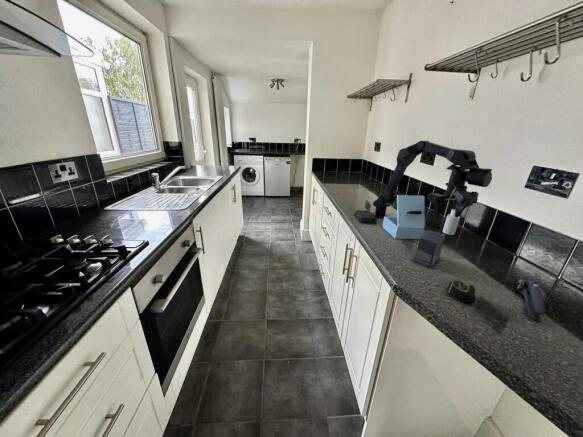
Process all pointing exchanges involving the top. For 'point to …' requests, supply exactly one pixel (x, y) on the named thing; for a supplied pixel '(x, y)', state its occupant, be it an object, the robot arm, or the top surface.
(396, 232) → the light blue box
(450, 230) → the bottle
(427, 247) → the small box
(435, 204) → the robot arm
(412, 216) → the lid
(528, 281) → the can opener
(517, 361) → the top surface
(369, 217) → the carrying case
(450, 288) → the tape measure
